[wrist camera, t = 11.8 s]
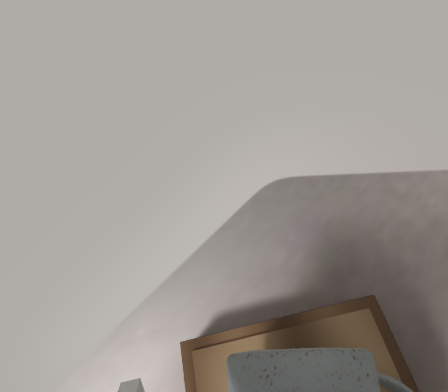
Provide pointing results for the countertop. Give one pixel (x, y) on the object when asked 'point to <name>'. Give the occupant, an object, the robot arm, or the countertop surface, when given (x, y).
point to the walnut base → (297, 342)
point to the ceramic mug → (307, 371)
